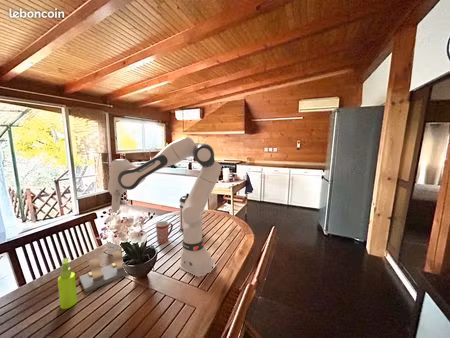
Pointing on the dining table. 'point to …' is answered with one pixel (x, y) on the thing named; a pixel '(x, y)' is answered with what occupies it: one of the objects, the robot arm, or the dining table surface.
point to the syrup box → (112, 247)
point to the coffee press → (182, 202)
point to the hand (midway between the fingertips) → (114, 211)
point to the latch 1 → (96, 269)
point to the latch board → (109, 275)
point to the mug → (163, 231)
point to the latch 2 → (118, 260)
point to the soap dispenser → (67, 286)
